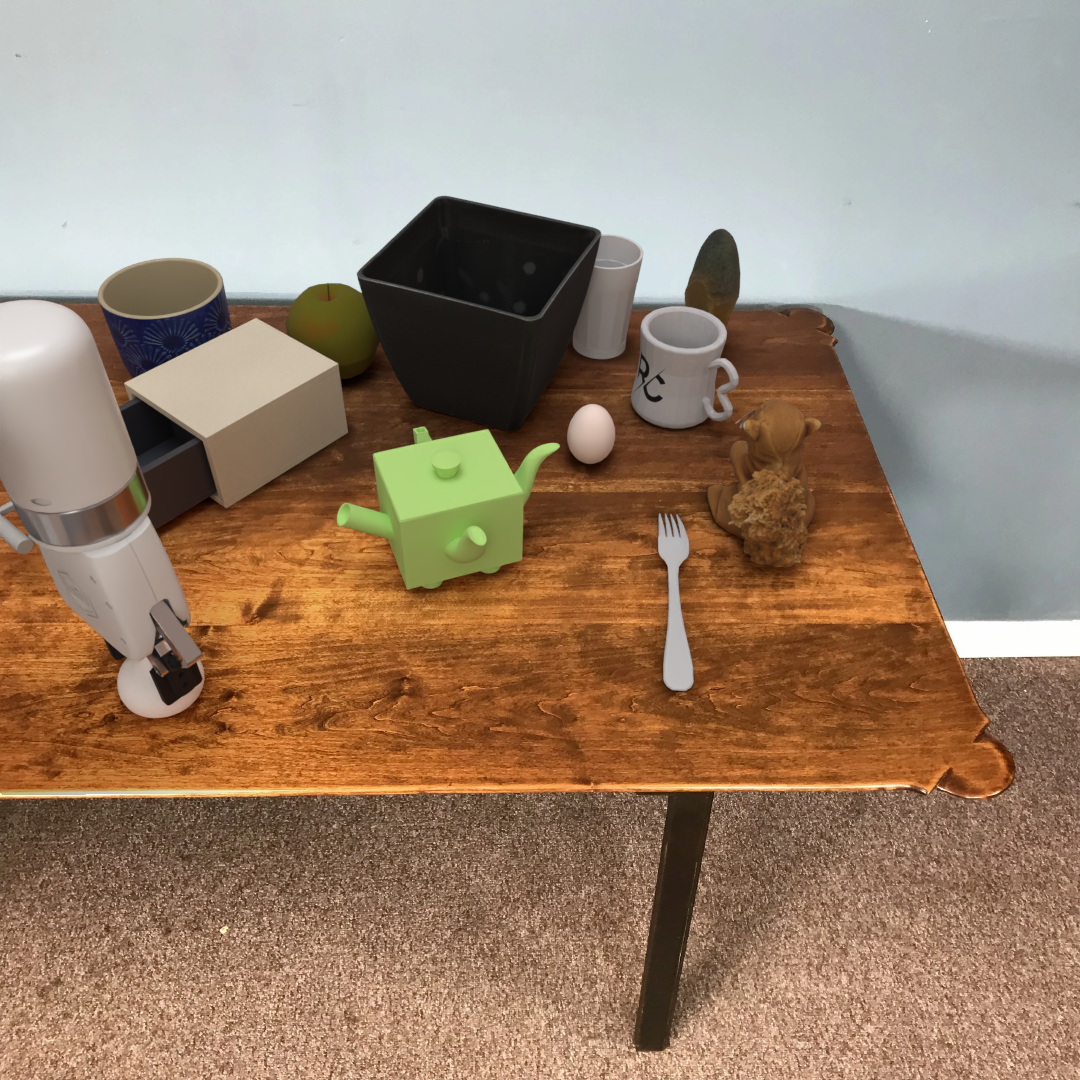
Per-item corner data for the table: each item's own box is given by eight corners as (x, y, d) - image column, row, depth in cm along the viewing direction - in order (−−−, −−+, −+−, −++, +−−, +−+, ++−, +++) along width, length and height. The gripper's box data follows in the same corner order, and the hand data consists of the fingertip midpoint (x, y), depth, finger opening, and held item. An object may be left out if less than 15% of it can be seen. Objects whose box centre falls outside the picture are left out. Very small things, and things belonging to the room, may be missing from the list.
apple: (391, 348, 108) (382, 262, 100) (375, 397, 101) (364, 309, 93) (306, 343, 108) (292, 256, 100) (284, 391, 101) (267, 302, 93)
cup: (607, 371, 106) (617, 276, 98) (552, 346, 109) (556, 252, 101) (645, 342, 111) (657, 249, 102) (590, 319, 114) (598, 227, 105)
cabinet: (226, 508, 88) (206, 437, 82) (147, 453, 93) (123, 382, 87) (348, 432, 96) (338, 363, 90) (270, 385, 102) (256, 317, 96)
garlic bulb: (120, 673, 74) (89, 608, 68) (201, 650, 76) (177, 585, 70) (129, 736, 70) (96, 671, 64) (213, 710, 72) (189, 645, 66)
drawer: (53, 601, 78) (23, 545, 73) (-17, 539, 82) (-49, 482, 78) (246, 482, 89) (232, 427, 84) (175, 434, 94) (158, 379, 89)
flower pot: (532, 462, 94) (538, 317, 82) (368, 416, 98) (351, 273, 87) (592, 365, 107) (604, 228, 95) (445, 329, 111) (438, 193, 99)
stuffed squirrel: (804, 489, 92) (839, 380, 83) (823, 593, 82) (864, 482, 73) (705, 481, 93) (728, 371, 83) (711, 583, 83) (738, 472, 73)
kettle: (556, 524, 88) (561, 432, 80) (495, 631, 78) (495, 538, 70) (415, 482, 91) (407, 389, 83) (341, 579, 82) (324, 485, 74)
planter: (264, 376, 103) (245, 289, 95) (162, 422, 97) (133, 332, 89) (206, 331, 109) (184, 245, 101) (107, 371, 103) (75, 283, 95)
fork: (657, 704, 76) (661, 687, 74) (653, 513, 89) (657, 494, 87) (691, 706, 76) (696, 689, 74) (682, 515, 89) (686, 496, 87)
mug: (612, 403, 102) (621, 324, 95) (668, 373, 106) (680, 295, 99) (696, 458, 95) (712, 378, 88) (752, 424, 100) (772, 345, 93)
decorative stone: (679, 326, 113) (697, 209, 103) (729, 333, 113) (752, 216, 102) (671, 370, 107) (691, 250, 96) (724, 377, 106) (749, 257, 95)
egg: (569, 442, 97) (572, 389, 92) (614, 448, 96) (620, 395, 91) (562, 471, 93) (565, 418, 88) (609, 477, 93) (615, 425, 88)
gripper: (-45, 465, 59) (51, 641, 72) (107, 595, 52) (184, 765, 65) (62, 413, 64) (134, 588, 76) (217, 525, 56) (269, 698, 69)
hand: (157, 668), depth 71 cm, fingers closed on garlic bulb, 5 cm apart
